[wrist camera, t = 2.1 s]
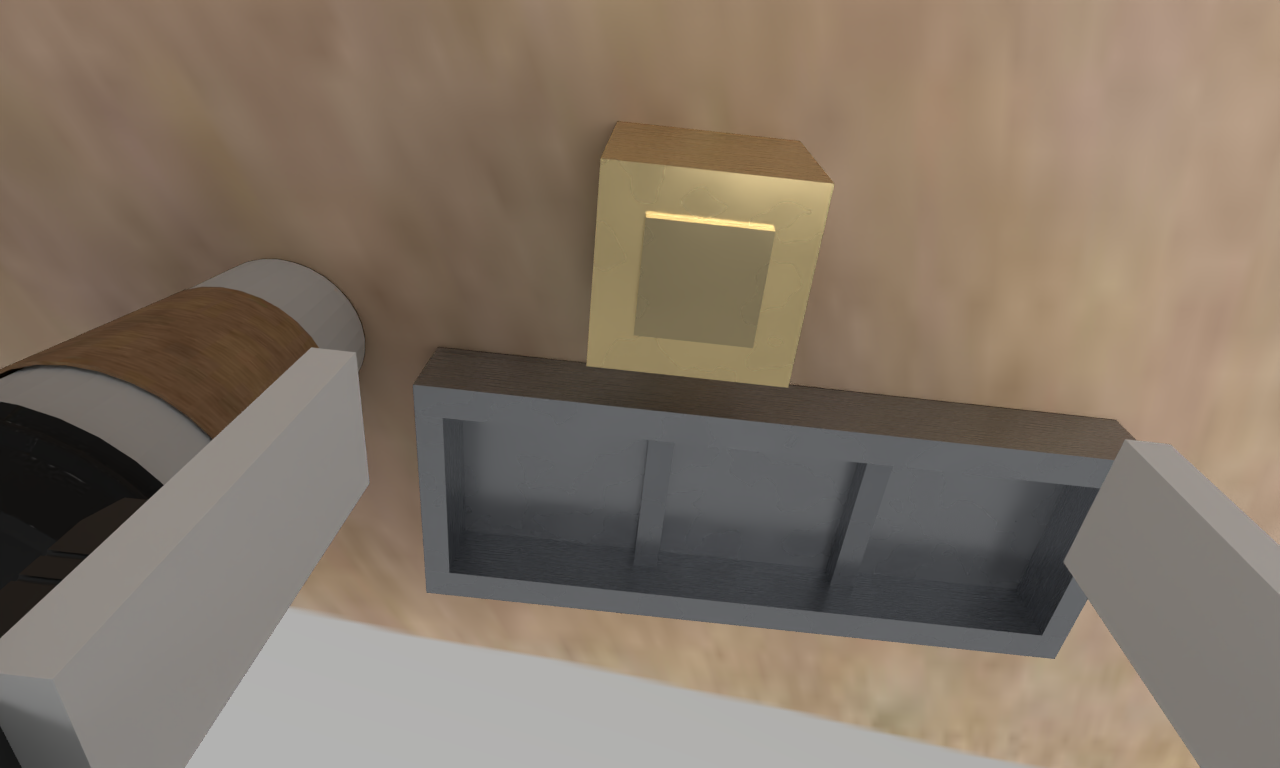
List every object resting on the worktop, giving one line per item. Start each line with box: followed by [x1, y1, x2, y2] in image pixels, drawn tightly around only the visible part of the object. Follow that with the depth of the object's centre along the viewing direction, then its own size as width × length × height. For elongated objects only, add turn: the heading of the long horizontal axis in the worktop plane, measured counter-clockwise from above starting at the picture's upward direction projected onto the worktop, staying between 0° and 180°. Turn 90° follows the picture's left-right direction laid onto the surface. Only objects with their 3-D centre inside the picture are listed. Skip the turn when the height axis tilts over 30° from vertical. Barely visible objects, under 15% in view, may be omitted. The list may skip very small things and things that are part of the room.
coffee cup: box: [0, 259, 365, 590], centre depth 21 cm, size 8×8×15 cm
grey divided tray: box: [413, 347, 1136, 659], centre depth 29 cm, size 26×10×3 cm, turn 84°
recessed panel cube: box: [586, 121, 834, 388], centre depth 22 cm, size 6×6×6 cm
